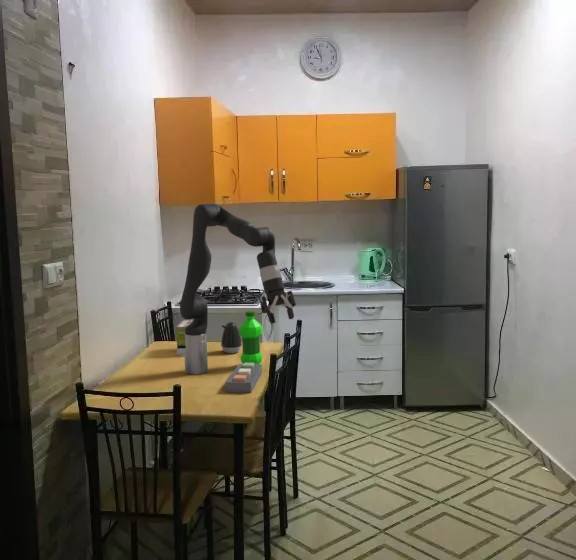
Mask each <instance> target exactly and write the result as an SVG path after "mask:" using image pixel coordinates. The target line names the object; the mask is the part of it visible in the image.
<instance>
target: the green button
mask: <svg viewBox="0 0 576 560" xmlns="http://www.w3.org/2000/svg"><path fill="white" fill-rule="evenodd" d="M242 364H243V363H242ZM242 366H243V368H245V369H254V367H255V363H244V364H243V365H242Z"/></svg>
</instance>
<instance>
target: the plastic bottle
mask: <svg viewBox="0 0 576 560" xmlns="http://www.w3.org/2000/svg"><path fill="white" fill-rule="evenodd" d="M245 317H246V319H245V321H244V322H243V323H242V324H240V325H239V328H238V329H239V333H240V335H241V340H242V345H241V348H242V353H241V355H240V361H241V364H244V363H255V364H261V363H262V360H263V354H262V351H261V337H260V336H261V335H262V334H263V325H262V324H261V323H260V322H259V321H258V320H257V319H255V317H256V311H255V310H246V311H245Z"/></svg>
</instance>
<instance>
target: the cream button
mask: <svg viewBox="0 0 576 560" xmlns="http://www.w3.org/2000/svg"><path fill="white" fill-rule="evenodd" d="M250 374H251V369H241V368H240V370H239V371H238V375H250Z"/></svg>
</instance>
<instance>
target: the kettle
mask: <svg viewBox="0 0 576 560" xmlns="http://www.w3.org/2000/svg"><path fill="white" fill-rule="evenodd" d="M221 328H223V331H222V333H221V334H222V335H221V340H220V342H221V344H220V346H221V349H222V351H223V352H225V353H226V354H230V353H232V354H237V353H238V352H239V351H240V350H241V348H242V336H241V335H240V333H239V328H238V326H237V324H236V323H235V322H232V321H228V322H227V323H226V324H225V325H224V324H222V325H221ZM236 352H237V353H236Z"/></svg>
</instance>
